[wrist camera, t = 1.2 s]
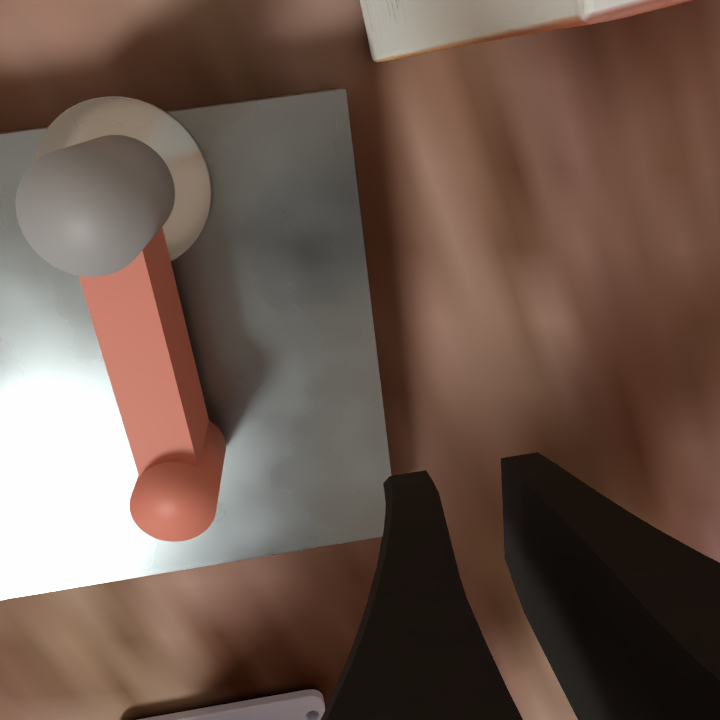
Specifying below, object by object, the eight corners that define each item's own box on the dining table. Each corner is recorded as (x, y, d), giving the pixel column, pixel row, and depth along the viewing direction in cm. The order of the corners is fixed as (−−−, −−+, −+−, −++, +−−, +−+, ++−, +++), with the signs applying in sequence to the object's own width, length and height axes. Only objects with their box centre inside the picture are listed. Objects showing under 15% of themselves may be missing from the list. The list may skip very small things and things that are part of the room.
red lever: (239, 470, 19) (230, 543, 16) (154, 484, 18) (129, 560, 15) (161, 128, 15) (131, 139, 12) (54, 142, 15) (-4, 158, 12)
